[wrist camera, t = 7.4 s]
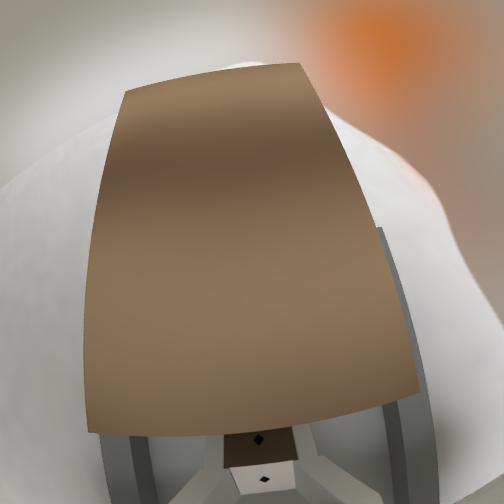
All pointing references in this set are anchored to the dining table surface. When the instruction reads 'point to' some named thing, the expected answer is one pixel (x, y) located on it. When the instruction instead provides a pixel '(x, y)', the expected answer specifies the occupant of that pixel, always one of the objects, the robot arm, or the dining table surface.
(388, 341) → the walnut block
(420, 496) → the lane
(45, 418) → the dining table surface
